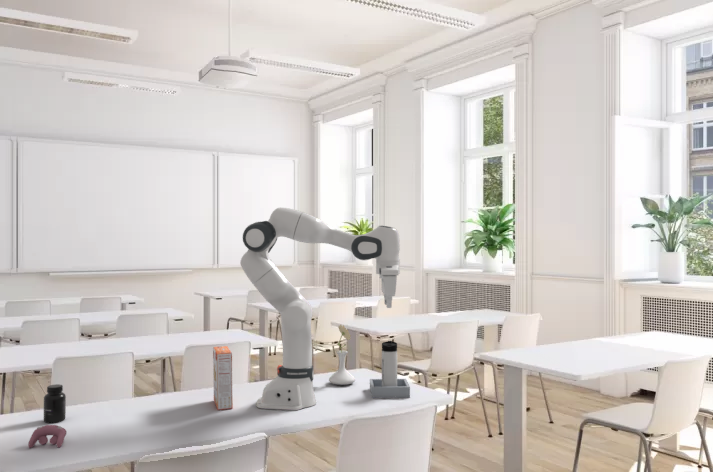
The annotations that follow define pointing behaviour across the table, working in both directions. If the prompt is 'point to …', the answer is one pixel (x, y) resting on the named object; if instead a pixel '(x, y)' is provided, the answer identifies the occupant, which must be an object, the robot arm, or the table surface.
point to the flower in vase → (342, 363)
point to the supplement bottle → (54, 404)
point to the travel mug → (389, 364)
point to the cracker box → (222, 377)
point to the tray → (389, 389)
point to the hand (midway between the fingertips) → (387, 306)
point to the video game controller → (46, 430)
